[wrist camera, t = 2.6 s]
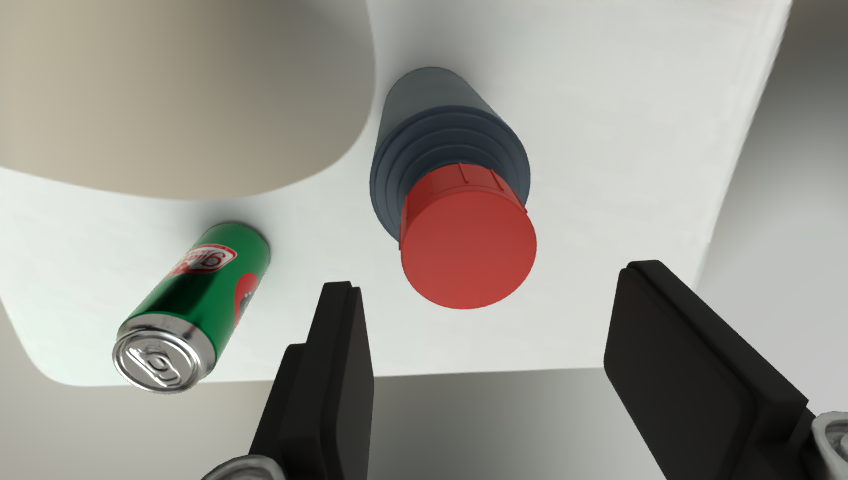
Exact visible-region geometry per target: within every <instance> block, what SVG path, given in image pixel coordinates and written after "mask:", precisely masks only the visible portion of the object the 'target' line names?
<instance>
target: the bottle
mask: <svg viewBox="0 0 848 480" xmlns="http://www.w3.org/2000/svg"><path fill="white" fill-rule="evenodd" d="M459 163H461V164H472V165H477V166H481V167H484V168H486V169H489V170H490V169H492V170H493V171H494V173H496V174H497V175H498V176H500V177H501V178H502V179H503V180H504V181H505V182H506V183H507V184H508V186H509V187H510V189H511V190H514V191H515V193H516V194H517V196H518V198H519V199H520V201H521V202H522V204H523V205H524V207H525V204H526V201H527V198H528V195H529V189H530V166H529V161H528V158H527V154H526V152H525V149H524V147H523V145H522V143H521V141H520V140H519V138H518V137H517V135H516V134H515V133H514V132H513V130H512V129H511V128H510V127H509V126H508V125H507V124H506V123H505V122H504V121H503V120H502V119H501V118H500V117H499V116H498V115H497V114H496V113H495V111H494V110H493V109H492V108H491V107H490V106H489V105H488V104H487V103H486V102H485V101H484V100H483V99H482V98H481V97H480V96H479V95H478V94H477V93H476V92H475V91H474V90H473V89H472V88H471V87H470V86H469V85H468V83H467V82H466V81H465V80H463V79H462V78H461V77H460V76H458V75H457V74H455V73H454V72H452V71H449V70H447V69H443V68H438V67H425V68H420V69H416V70H414V71H412V72H410V73H408V74H406V75H404V76H403V77H402V78H401V79H399V80H398V81H397V82H396V83H395V85H394V86H393V87H392V89H391V90H390V92H389V94H388V95H387V98H386V101H385V104H384V108H383V113H382V118H381V123H380V128H379V133H378V137H377V142H376V147H375V152H374V157H373V162H372V167H371V172H370V182H369V183H370V196H371V202H372V205H373V208H374V211H375V213H376V215H377V217H378V219H379V221H380V222H381V224H382V225H383V227H384V228H385V229H386V231H387V232H388V233H389V234H390V235H391V236H392V237H393V238H394V239H395V240H397V241H398V242H399V223H401V214H402V208H403V205H404V202H405V196H406V195H408V194H409V192H410V191H411V189H412V188H413V187H414V185H415V184H416V183H417V182H418V181H419V180H420V179H422V178H423V177H424V176H426V175H427V173H428V172H429V173H430V172H432V171H434V170H436V169H439V168H441V167H444V166H448V165H453V164H459Z"/></svg>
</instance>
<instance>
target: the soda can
mask: <svg viewBox="0 0 848 480" xmlns="http://www.w3.org/2000/svg"><path fill="white" fill-rule="evenodd" d="M269 263H270V253H269V250H268V247H267V245H266V243H265V242H264V240H263V239H262V238H261V237H260V236H259V235H258V234H257V233H256V232H254V231H253V230H251V229H249V228H247V227H245V226H242V225H239V224H232V223H225V224H219V225H216V226H214V227H212V228H210V229H209V230H207V231H206V232H205V233H204V234H203V236H202V237H201V238H200V239H199V240H198V241H197V242H196V243H195V244H194V245H193V247H192V248H191V249H190V250H189V251H188V252H187V253H186V254H185V255H184V256H183V257H182V259H181V260H180V261H179V262H178V263H177V264H176V265H175V266H174V267H173V268H172V270H171V271H170V272H169V273H168V274H167V275H166V276H165V277H164V278H163V279H162V281H161V282H160V283H159V284H158V285H157V286H156V287H155V288H154V289H153V290H152V291H151V293H150V294H149V295H148V296H147V297H146V298H145V299H144V300H143V301H142V302H141V304H140V305H139V306H138V307H137V308H136V309H135V310H134V311H133V312H132V313H131V315H130V316H129V317H128V318H127V319H126V320H125V321H124V322H123V323H122V325H121V326H120V328H119V330H118V333H117V338H116V340H117V342H116V344H115V346H114V348H113V352H112V358H113V363H114V365H115V367H116V369H117V371H118V372H119V373H120V374H121V375H122V376H123V377H124V378H125V379H126V380H127V381H128V382H130V383H131V384H133V385H135V386H136V387H139V388H141V389H143V390H146V391H149V392H153V393H159V394H176V393H180V392H184V391H186V390H188V389H190V388H192V387H193V386H194V385H195V384H197V382H198V381H199V380H201V379H203V378H205V377H206V376H207V375H208V374H210V373H211V371H212V370H213V369H214V367H215V365H216V364H217V362H218V360H219V358H220V356H221V354H222V352H223V350H224V349H225V347H226V345H227V343H228V341H229V339H230V337H231V335H232V334H233V332H234V330H235V328H236V326H237V324H238V322H239V321H240V319H241V317H242V315H243V313H244V311H245V309H246V307H247V306H248V304H249V302H250V300H251V298H252V296H253V294H254V293H255V291H256V289H257V287H258V285H259V283H260V281H261V279H262V278H263V276H264V274H265V272H266V270H267V268H268V266H269Z"/></svg>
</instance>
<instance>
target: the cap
mask: <svg viewBox="0 0 848 480" xmlns="http://www.w3.org/2000/svg"><path fill="white" fill-rule="evenodd" d="M526 213H528V212H527V210H526V209H525V207H524V205H523V204H522V202H521V201H520V199H519V198H518V196H517V194H516V193H515V191H514V190H511V189H510V187H509V186H508V184H507V183H506V182H505V181H504V180H503V179H502V178H501V177H500V176H498V175H497V174H496V173H494V171H493V170H492V169H490V170H489V169H486V168H484V167H481V166H477V165H472V164H461V163H459V164H453V165H448V166H444V167H441V168H439V169H436V170H434V171H432V172H430V173H429V172H428V173H427V175H426V176H424V177H423V178H422V179H420V180H419V181H418V182H417V183H416V184H415V185H414V187H413V188H412V189H411V191H410V192H409V194H408V195H406V196H405V202H404V205H403V208H402V214H401V223H399V250H401V262H402V267H403V270H404V273H405V275H406V277H407V279H408V281H409V282H410V284H411V285H412V286H413V288H414V289H415V290H416V291H417V292H418V293H419V294H421V295H422V296H423V297H425V298H426V299H428V300H429V301H431V302H433V303H435V304H438V305H441V306H444V307H448V308H453V309H475V308H480V307H485V306H488V305H491V304H493V303H496V302H498V301H500V300H502V299H503V298H505V297H507V296H508V295H510V294H511V293H512V292H514V291H515V290H516V289H517V288H518V287H519V286H520V285H521V284H522V282H523V281H524V280H525V279H526V277H527V276H528V274H529V272H530V270H531V268H532V266H533V263H534V260H535V256H536V247H537V242H536V234H535V231H534V227H533V225H532V223H531V221H530V219H529V217H528V216H527V214H526Z"/></svg>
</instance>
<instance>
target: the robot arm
mask: <svg viewBox="0 0 848 480" xmlns="http://www.w3.org/2000/svg"><path fill="white" fill-rule="evenodd" d="M604 368H605V372H606V374H607V376H608V378H609V380H610V381H611V383H612V385H613V387H614V389H615V390H616V392H617V394H618V396H619V397H620V399H621V401H622V403H623V404H624V406H625V408H626V409H627V411H628V413H629V415H630V416H631V418H632V420H633V422H634V423H635V425H636V427H637V429H638V430H639V432H640V434H641V436H642V437H643V439H644V441H645V443H646V444H647V446H648V448H649V450H650V451H651V453H652V455H653V456H654V458H655V460H656V462H657V464H658V465H659V467H660V469H661V470H662V472H663V474H664V476H665V477H666V479H667V480H848V412H837V411H832V412H827V413H822V414H820V415H819V416H817V417H816V416H815V415H814V414H813V413H812V412H811V411H810V410H809V409H808V408H807V407H806V405H807V403H808V401H809V400H808V399H807V398H806V397H805V396H804V395H803V394H802V393H801V392H800V391H799V390H797V389H796V388H795V387H794V386H793V385H792V384H791V383H790V382H789V381H788V380H787V379H786V378H785V377H784V376H783V375H782V374H780V373H779V372H778V371H777V370H776V369H775V368H774V367H773V366H772V365H771V364H770V363H769V362H768V361H767V360H766V359H764V358H763V357H762V356H761V355H760V354H759V353H758V352H757V351H756V350H755V349H754V348H752V346H750V345H749V344H748V343H747V342H746V341H745V340H744V339H743V338H742V337H741V336H740V335H739V334H738V333H737V332H736V331H734V330H733V329H732V328H731V327H730V326H729V325H728V324H727V323H726V322H725V321H724V320H723V319H722V318H720V317H719V316H718V315H717V314H716V313H715V312H714V311H713V310H712V309H711V308H710V307H709V306H708V305H707V304H706V303H705V302H704V301H702V300H701V299H700V298H699V297H698V296H697V295H696V294H695V293H694V292H693V291H692V290H691V289H690V288H689V287H688V286H686V285H685V284H684V283H683V282H682V281H681V280H680V279H679V278H678V277H677V276H676V275H675V274H674V273H673V272H671V271H670V270H669V269H668V268H667V267H666V266H665V265H664V264H663V263H662V262H660V261H659V260H646V261H632V262H630V263H629V264H628V265H627V267H626V268H623V269H621V271H620V273H619V277H618V283H617V288H616V294H615V299H614V305H613V310H612V316H611V321H610V327H609V332H608V338H607V343H606V349H605V354H604ZM373 396H374V377H373V370H372V363H371V356H370V349H369V342H368V336H367V329H366V322H365V315H364V308H363V302H362V295H361V289H360V287H352V285H351V282H350V281H342V282H328V283H324V285H323V288H322V292H321V295H320V298H319V301H318V305H317V308H316V311H315V315H314V318H313V321H312V324H311V328H310V331H309V334H308V338H307V341H306V343H301V344H290V345H289V346H288V347H287V349H286V351H285V353H284V356H283V358H282V361H281V364H280V367H279V370H278V372H277V375H276V378H275V381H274V384H273V386H272V389H271V392H270V395H269V397H268V400H267V403H266V406H265V409H264V412H263V414H262V417H261V420H260V422H259V426H258V428H257V431H256V434H255V437H254V439H253V442H252V445H251V448H250V450H249V453H248V455H245V456H241V457H237V458H233V459H231V460H229V461H227V462H224V463H222V464H220V465H218V466H217V467H216V468H214V469H213V470H212V471H210V472H209V473H208V474H206V475H205V476H204V477H203V478H202V479H201V480H367V470H368V458H369V446H370V434H371V421H372V409H373Z"/></svg>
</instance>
